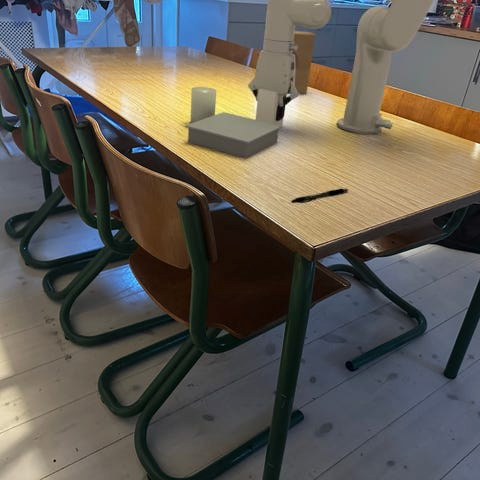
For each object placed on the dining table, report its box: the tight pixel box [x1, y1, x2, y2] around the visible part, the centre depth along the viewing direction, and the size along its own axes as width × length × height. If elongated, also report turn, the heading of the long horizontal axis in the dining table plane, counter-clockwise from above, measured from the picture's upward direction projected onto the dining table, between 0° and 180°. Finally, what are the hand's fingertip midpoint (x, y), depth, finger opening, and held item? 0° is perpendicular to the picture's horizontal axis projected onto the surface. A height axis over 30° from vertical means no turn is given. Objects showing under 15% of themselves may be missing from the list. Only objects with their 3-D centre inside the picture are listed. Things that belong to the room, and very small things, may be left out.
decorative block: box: [287, 30, 316, 95], centre depth 167 cm, size 11×6×20 cm, turn 110°
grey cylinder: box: [189, 86, 217, 124], centre depth 127 cm, size 6×6×9 cm
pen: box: [291, 188, 349, 204], centre depth 93 cm, size 14×2×1 cm, turn 121°
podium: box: [185, 111, 283, 159], centre depth 117 cm, size 17×17×4 cm
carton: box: [255, 88, 284, 126], centre depth 130 cm, size 5×7×10 cm
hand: (269, 117), depth 131 cm, fingers closed on carton, 5 cm apart
